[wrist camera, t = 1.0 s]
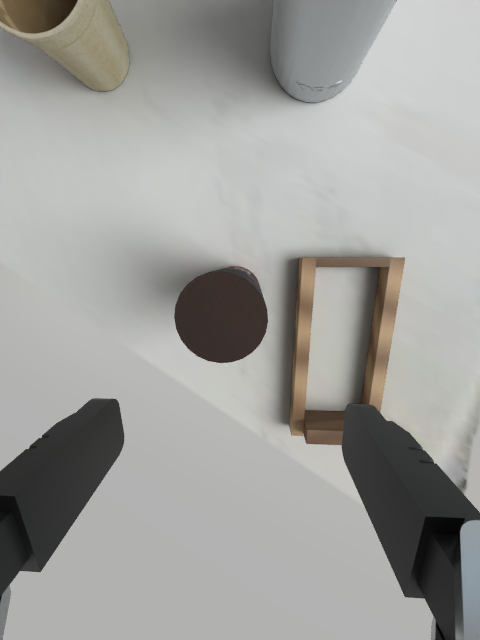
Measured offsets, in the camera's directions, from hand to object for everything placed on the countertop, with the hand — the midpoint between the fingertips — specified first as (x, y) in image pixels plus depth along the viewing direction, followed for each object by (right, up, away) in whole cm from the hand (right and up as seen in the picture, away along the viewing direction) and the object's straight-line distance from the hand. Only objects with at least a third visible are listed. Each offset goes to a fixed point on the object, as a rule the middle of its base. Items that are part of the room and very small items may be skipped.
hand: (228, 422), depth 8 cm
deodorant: (0, +7, +21) cm, 23 cm away
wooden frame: (+13, 0, +22) cm, 26 cm away
